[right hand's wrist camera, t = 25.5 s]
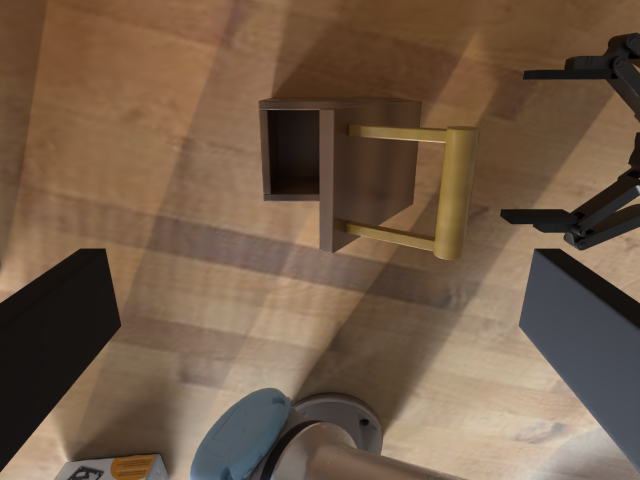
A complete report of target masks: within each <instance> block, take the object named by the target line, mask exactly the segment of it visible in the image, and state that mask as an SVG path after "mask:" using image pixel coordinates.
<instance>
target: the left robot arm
mask: <svg viewBox="0 0 640 480" xmlns="http://www.w3.org/2000/svg"><path fill="white" fill-rule="evenodd" d="M608 47H609V48H608V50H607V51H606V53H605V54H604V55H602V56H577V57H571V58H568V59H566V63H565V68H564V70H531V71H524V76H523V79H606V80H607V81H608V83H609V84H610V85H611V86H612V87H613V88H614V90H615V91H616V92H617V93H618V94H619V95H620V96H621V98H622V99H623V100H624V101H625V102H626V103H627V105H628V106H629V107H630V108H631V109H632V110H633V112H634V113H635V115H634V116H635V118H636V119H637V120H638V121H639V122H640V73H639V72H638V71H637V70H636V68H635V67H634V66H633V65H632V64H634V65H636V66H637V67H639V68H640V34H638V33H631V34H625V35H619V36H614V37H612V38H611V39H610V40H609V42H608ZM631 63H632V64H631ZM628 164H630V165H631V169H629V170H628V171H626V172H625V173H623V174H622V175H620V176H619V177H618V180H617V181H616V182H615V183H614V184H612V185H611V186H609V187H608V188H606V189H605V190H603V191H602V192H600V193H599V194H597V195H596V196H595V197H593V198H592V199H590V200H589V201H587V202H586V203H584V204H583V205H581V206H580V207H578V208H577V209H576V210H574V211H573V212H571V213H569V212H567V211H565V210H563V209H501V214H500V216H501V217H502V218H504V219H505V220H506V221H508V222H509V223H510V224H533V227H535V228H536V229H538V230H539V231H541V232H544V233H549V232H550V233H553V232H554V233H565V235H564V241H566V242H567V243H569V244H570V245H572V246H573V247H575V248H577V249H578V250H585V249H587V248H590V247H592V246H595V245H597V244H599V243H602V242H604V241H607V240H609V239H611V238H614V237H616V236H619V235H621V234H623V233H626V232H628V231H631V230H633V229H636V228H638V227H640V204H635V205H632V206H629V207H626V208H624V209H622V210H619V211H617V210H618V209H620V208H621V207H623V206H624V205H626V204H627V203H629V202H630V201H632V200H633V199H635V198H636V197H638V196H640V179H639V178H640V133H637V134H636V137H635V148H634V151H633V152H632V154H631V156H630V159H629V163H628ZM615 211H617V212H615ZM614 212H615V213H614ZM382 443H383V438H382V431H381V426H380V422H379V419H378V417H377V416H376V414H375V413H374V411H373V410H372V409H371V408H370V407H369V406H368V405H366V404H365V403H364V402H362V401H360V400H358V399H356V398H354V397H351V396H348V395H343V394H337V393H325V394H318V395H314V396H310V397H308V398H305V399H303V400H301V401H299V402H298V403H296V404H295V405H294V406H292V401H291V400H290V399H289V397H286V396H285V395H284V394H283V393H282V392H281V391H279V390H278V389H275V388H265V389H260V390H257V391H255V392H253V393H251V394H249V395H247V396H246V397H244V398H242V399H241V400H240V401H239V402H237V403H236V404H234V405H233V406H232V407H231V408H230V409H228V410H227V411H226V412H225V413H224V414H223V415H222V416H221V417H220V418H219V419H218V421H217V422H216V423H215V424H214V425H213V426H212V428H211V429H210V430H209V432H208V433H207V434H206V436H205V437H204V439H203V441H202V442H201V444H200V446H199V447H198V449H197V452H196V454H195V458H194V460H193V462H192V465H191V471H190V480H468V479H464V478H461V477H457V476H454V475H450V474H447V473H443V472H439V471H436V470H432V469H429V468H425V467H422V466H418V465H414V464H411V463H407V462H404V461H400V460H397V459H393V458H389V457H386V456H382V455H381V450H382Z"/></svg>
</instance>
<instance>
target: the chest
mask: <svg viewBox="0 0 640 480" xmlns="http://www.w3.org/2000/svg"><path fill="white" fill-rule="evenodd" d="M407 101H411V100H405V99H399V98H269V99H265V100H262V101H259V116H260V135H261V154H262V174H263V193H264V201H320V109H322V108H334V107H346V106H358V105H370V104H382V103H395V102H407Z"/></svg>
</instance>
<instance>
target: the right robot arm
mask: <svg viewBox="0 0 640 480" xmlns="http://www.w3.org/2000/svg"><path fill="white" fill-rule="evenodd" d="M120 327H121V322H120V317H119V312H118V308H117V303H116V298H115V293H114V288H113V283H112V278H111V273H110V268H109V263H108V259H107V254H106V249H79V250H78V251H76V252H75V253H73V254H72V255H70V256H69V257H67V258H66V259H64V260H63V261H62V262H60V263H59V264H57V265H56V266H54V267H53V268H51V269H50V270H48V271H47V272H45V273H44V274H42V275H41V276H39V277H38V278H37V279H35V280H34V281H32V282H31V283H29V284H28V285H26V286H25V287H23V288H22V289H20V290H19V291H17V292H16V293H15V294H13V295H12V296H10V297H9V298H7V299H6V300H4V301H3V302H1V303H0V472H1V471H2V470H3V469H4V467H5V466H6V465H7V464H8V463H9V461H10V460H11V459H12V458H13V456H14V455H15V454H16V453H17V452H18V450H19V449H20V448H21V447H22V446H23V444H24V443H25V442H26V441H27V440H28V438H29V437H30V436H31V435H32V433H33V432H34V431H35V430H36V429H37V427H38V426H39V425H40V424H41V423H42V421H43V420H44V419H45V418H46V416H47V415H48V414H49V413H50V412H51V410H52V409H53V408H54V407H55V406H56V404H57V403H58V402H59V401H60V400H61V398H62V397H63V396H64V395H65V393H66V392H67V391H68V390H69V389H70V387H71V386H72V385H73V384H74V383H75V381H76V380H77V379H78V378H79V377H80V375H81V374H82V373H83V372H84V370H85V369H86V368H87V367H88V366H89V364H90V363H91V362H92V361H93V360H94V358H95V357H96V356H97V355H98V354H99V352H100V351H101V350H102V349H103V347H104V346H105V345H106V344H107V343H108V341H109V340H110V339H111V338H112V337H113V335H114V334H115V333H116V332H117V331H118V329H119V328H120ZM519 327H520V328H521V329H522V331H523V332H524V333H525V334H526V335H527V337H528V338H529V339H530V340H531V341H532V343H533V344H534V345H535V346H536V347H537V349H538V350H539V351H540V352H541V354H542V355H543V356H544V357H545V358H546V360H547V361H548V362H549V363H550V364H551V366H552V367H553V368H554V369H555V370H556V372H557V373H558V374H559V375H560V377H561V378H562V379H563V380H564V381H565V383H566V384H567V385H568V386H569V387H570V389H571V390H572V391H573V392H574V393H575V395H576V396H577V397H578V398H579V400H580V401H581V402H582V403H583V404H584V406H585V407H586V408H587V409H588V410H589V412H590V413H591V414H592V415H593V416H594V418H595V419H596V420H597V421H598V423H599V424H600V425H601V426H602V427H603V429H604V430H605V431H606V432H607V433H608V435H609V436H610V437H611V438H612V440H613V441H614V442H615V443H616V444H617V446H618V447H619V448H620V449H621V450H622V452H623V453H624V454H625V455H626V456H627V458H628V459H629V460H630V461H631V463H632V464H633V465H634V466H635V467H636V469H637V470H638V471H639V472H640V303H639V302H637V301H636V300H634V299H633V298H631V297H630V296H628V295H627V294H625V293H624V292H623V291H621V290H620V289H618V288H617V287H615V286H614V285H612V284H611V283H609V282H608V281H606V280H605V279H603V278H602V277H600V276H599V275H598V274H596V273H595V272H593V271H592V270H590V269H589V268H587V267H586V266H584V265H583V264H581V263H580V262H578V261H577V260H576V259H574V258H573V257H571V256H570V255H568V254H567V253H565V252H564V251H562V250H561V249H534V254H533V259H532V263H531V268H530V273H529V278H528V283H527V288H526V293H525V298H524V303H523V308H522V312H521V317H520V322H519Z"/></svg>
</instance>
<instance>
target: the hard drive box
mask: <svg viewBox="0 0 640 480" xmlns="http://www.w3.org/2000/svg"><path fill="white" fill-rule="evenodd" d="M54 480H169V477H168V474H167V472H166V469H165V466H164V464H163V461H162V458H161V456H160V454H153V455H134V456H130V457H120V458H110V459H99V460H94V459H92V460H83V461H76V462H67V463H65V465H64V466H63V468H62V469H61V471H60V472H59V473H58V475H57V476H56V478H55V479H54Z"/></svg>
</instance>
